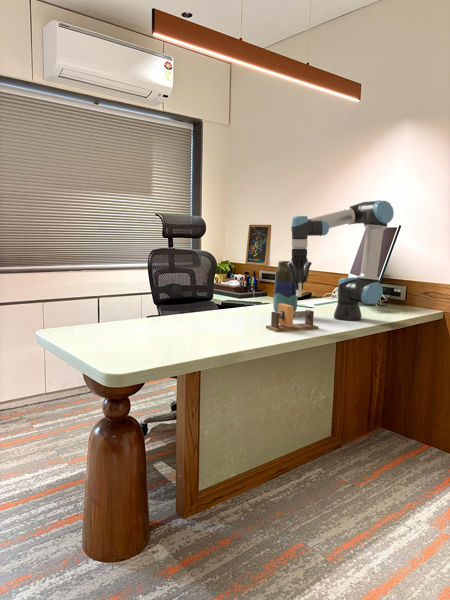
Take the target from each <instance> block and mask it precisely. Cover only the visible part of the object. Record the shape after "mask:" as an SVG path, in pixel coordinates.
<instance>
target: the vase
mask: <svg viewBox="0 0 450 600" xmlns="http://www.w3.org/2000/svg"><path fill="white" fill-rule="evenodd" d="M290 261H291V260H279V261H278V263H277V269H276V270H275V276H274V287H273V299H272V300H273V304H272V305H273V312H278V304H281V303H284V304H287V305H291V306H293V312H294V311H297V309H298V296H296V290H295V283H294V282H292V281H291V277H290V272H289V267H288V266H287V263H289V262H290ZM293 269H294V265H293ZM294 274H295V269H294Z"/></svg>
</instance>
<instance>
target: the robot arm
mask: <svg viewBox="0 0 450 600" xmlns="http://www.w3.org/2000/svg"><path fill="white" fill-rule="evenodd" d="M393 218H394V207H393V206H392V204H391V203H390V202H389V201H388V200H387V201H386V200H379V199H378V200H371V201H362V202H359V203H356V204H353V205H350V206H347V207H345V208H344V209H343V210H339V211H335V212H331V213H327V214H324V215H320V216H319V215H318V216H315V217H312V218H308V216H306V215H295V216H293V217H292V219H291V220H292V221H291V226H290V229H291V259H290V260H289V261H290V262H289V263H287V266H288V267H289V272H290V277H291V281H292V282H294V283H295V290H296V296H297V298H298V297H299V298H300V297H302V290H303V289H304V283H306V282H307V280H308V276H309V272H310V267H311V266H312V264H313V263H312V261H309V260H308V249H307V248H308V237H310V236H312V237H313V236H314V237H316V236H318V237H319V236H320V237H321V236H327V235H328V233H329V230H330V229H332V228H336V227H340V226H343V225H349V226H351V225H356V224H359V225H360V224H363V226H364V229H366V231H365V236H364V237H365V238H364V244H363V252H362V261H361V266H360V273H359V275H357V276H356V277H342V278H339V280H338V284H337V287H338V288H337V289H338V290H337V304H336V308H335V310H334V313H333V319H335V320H340V321H341V320H342V321H353V322H354V321H360V320H362V317H363V316H362V312H361V308H360V303H361V304H364V305H368V304H369V305H373V304H376V303H378V302H379V301H380V300H381V298H382V296H383V293H384V289H383V286H382V285H381V284H380V278H379V276H378V272H379V266H380V265H379V264H380V257H381V249H382V242H383V236H384V235H383V234H384V231H385V230H386V229H387V228H388V224H389V223H390V222H392V220H393ZM293 265H294V269H295V274H294V269H293Z"/></svg>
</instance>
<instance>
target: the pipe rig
mask: <svg viewBox="0 0 450 600" xmlns="http://www.w3.org/2000/svg"><path fill="white" fill-rule="evenodd" d="M270 313H271V318H270V321H271V322H270V323H271V324H270V325H265V329H267V330H270V331H272V332H274V333H278V332H280V333H281V332H291V331H292V332H293V331H306V330H307V331H308V330H309V331H310V330H319V329H320V328H319V326H318V325H315V324H314V316H315V314H314V313H315V311H314V310H311V309H310V310H309V309H306V310H298V311H297V310H296V311H294V312H293V319H294V318H304V319H305V322H303V323H293V327H286V326H283V325H280V324H279V318H281V319H284V317H285V312H275V311H271V312H270Z"/></svg>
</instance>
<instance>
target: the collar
mask: <svg viewBox="0 0 450 600" xmlns="http://www.w3.org/2000/svg"><path fill="white" fill-rule="evenodd" d="M278 312H285V317H284V319H281V318H279V325H283V326H286V327H293V324H294V318H293V306H291V305H287V304H284V303H281V304H278Z"/></svg>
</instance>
